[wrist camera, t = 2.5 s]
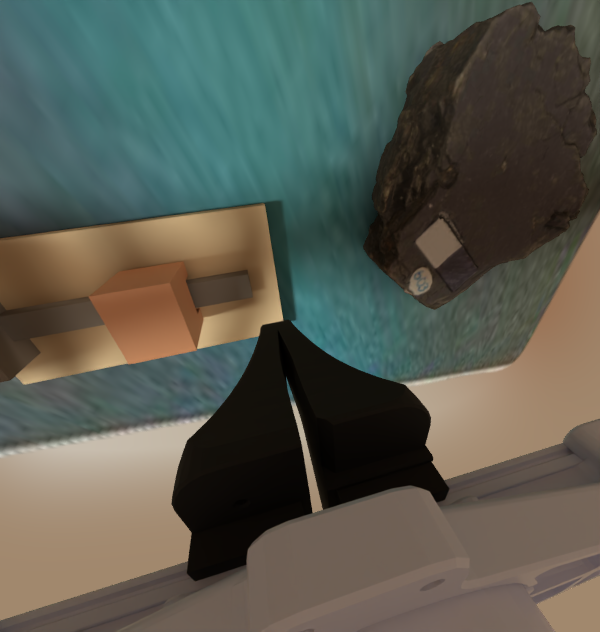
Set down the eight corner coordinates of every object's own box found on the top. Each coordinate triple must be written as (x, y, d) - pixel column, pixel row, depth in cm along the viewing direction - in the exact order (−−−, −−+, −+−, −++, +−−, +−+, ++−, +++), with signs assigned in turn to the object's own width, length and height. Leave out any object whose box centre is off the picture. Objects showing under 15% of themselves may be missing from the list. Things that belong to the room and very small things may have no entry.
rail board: (35, 373, 20) (-8, 415, 16) (-75, 248, 15) (-169, 270, 11) (282, 323, 22) (290, 350, 19) (263, 203, 17) (269, 210, 14)
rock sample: (372, 27, 14) (428, -34, 10) (583, 45, 17) (696, 3, 13) (349, 299, 23) (374, 327, 19) (491, 282, 26) (540, 303, 22)
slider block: (148, 330, 18) (128, 364, 15) (119, 271, 16) (88, 296, 13) (203, 319, 19) (196, 350, 16) (183, 261, 17) (169, 283, 13)
